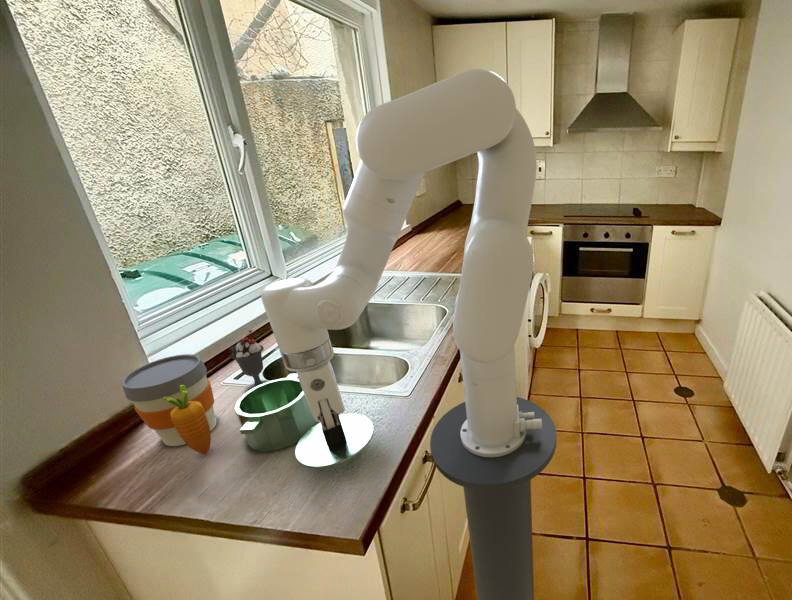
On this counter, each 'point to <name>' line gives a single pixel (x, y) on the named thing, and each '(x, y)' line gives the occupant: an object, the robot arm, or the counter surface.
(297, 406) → the pot
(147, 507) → the counter surface
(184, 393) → the carrot
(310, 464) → the lid
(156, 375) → the reusable coffee cup
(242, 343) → the sundae
